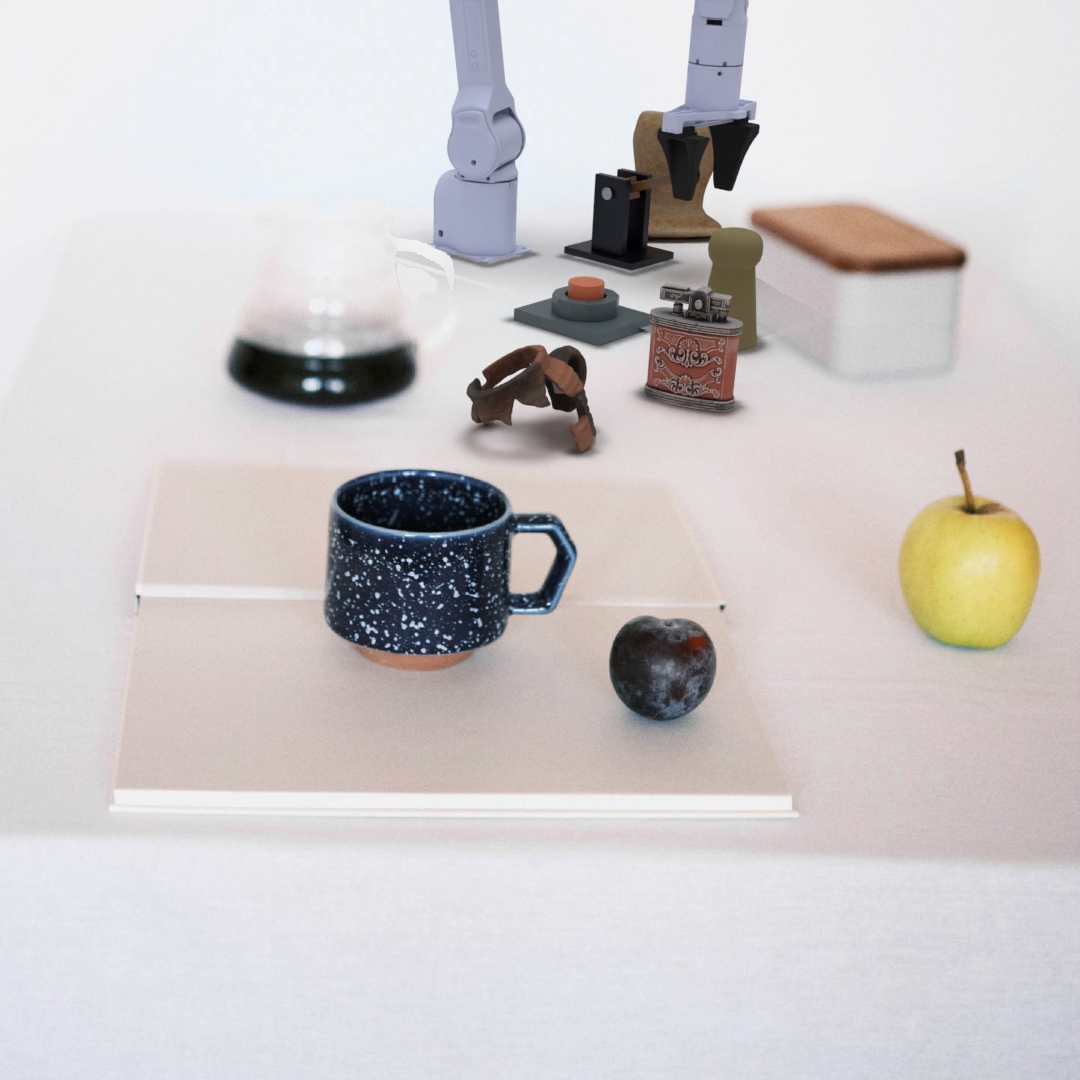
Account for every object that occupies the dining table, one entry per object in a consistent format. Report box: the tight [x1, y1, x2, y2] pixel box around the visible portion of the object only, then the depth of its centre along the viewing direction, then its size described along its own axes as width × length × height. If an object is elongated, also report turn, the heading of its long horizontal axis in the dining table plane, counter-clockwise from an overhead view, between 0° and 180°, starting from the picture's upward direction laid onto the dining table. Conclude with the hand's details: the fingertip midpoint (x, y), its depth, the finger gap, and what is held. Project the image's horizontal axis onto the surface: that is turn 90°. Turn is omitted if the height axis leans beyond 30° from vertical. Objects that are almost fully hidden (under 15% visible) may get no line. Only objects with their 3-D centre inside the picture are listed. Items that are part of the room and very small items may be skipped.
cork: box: [707, 226, 764, 352], centre depth 132 cm, size 6×6×11 cm
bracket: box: [563, 168, 675, 272], centre depth 158 cm, size 10×8×10 cm
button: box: [567, 275, 606, 301], centre depth 136 cm, size 4×4×2 cm
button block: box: [513, 285, 652, 347], centre depth 137 cm, size 11×9×3 cm
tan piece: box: [632, 110, 723, 239], centre depth 168 cm, size 15×12×15 cm
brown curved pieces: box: [465, 344, 597, 453], centre depth 110 cm, size 12×10×8 cm
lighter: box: [643, 282, 743, 413], centre depth 117 cm, size 8×3×10 cm, turn 65°
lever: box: [627, 169, 700, 199], centre depth 153 cm, size 12×3×3 cm, turn 48°
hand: (703, 194), depth 150 cm, fingers open, 7 cm apart
